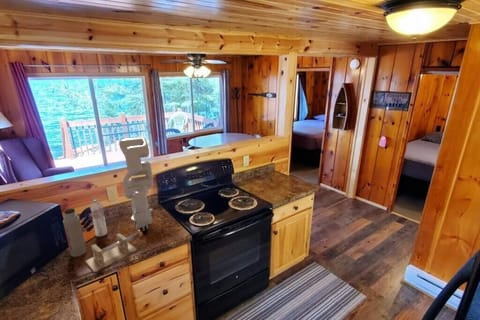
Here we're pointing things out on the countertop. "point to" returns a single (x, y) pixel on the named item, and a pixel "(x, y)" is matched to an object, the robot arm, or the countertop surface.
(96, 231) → the water bottle
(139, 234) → the shaft
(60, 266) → the countertop surface
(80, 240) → the thermos bottle
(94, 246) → the bracket
